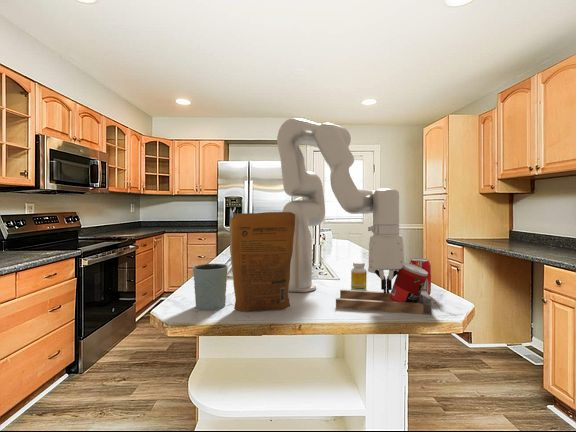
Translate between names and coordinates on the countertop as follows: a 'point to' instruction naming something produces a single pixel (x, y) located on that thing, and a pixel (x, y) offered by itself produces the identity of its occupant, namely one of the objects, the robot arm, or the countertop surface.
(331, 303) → the countertop surface
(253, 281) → the pancake mix bag
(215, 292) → the grey cup
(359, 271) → the supplement bottle
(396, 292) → the canned food
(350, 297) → the guide channel
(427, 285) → the soda can
